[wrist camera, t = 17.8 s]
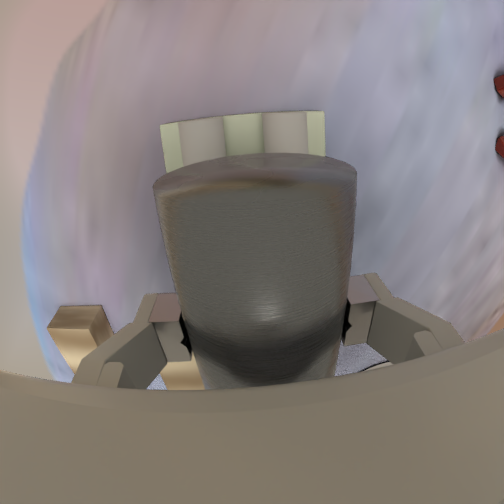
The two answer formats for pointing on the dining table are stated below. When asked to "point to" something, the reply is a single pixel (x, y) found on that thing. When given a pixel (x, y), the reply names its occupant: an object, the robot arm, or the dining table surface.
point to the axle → (260, 263)
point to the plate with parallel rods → (242, 136)
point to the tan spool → (97, 332)
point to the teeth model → (503, 88)
